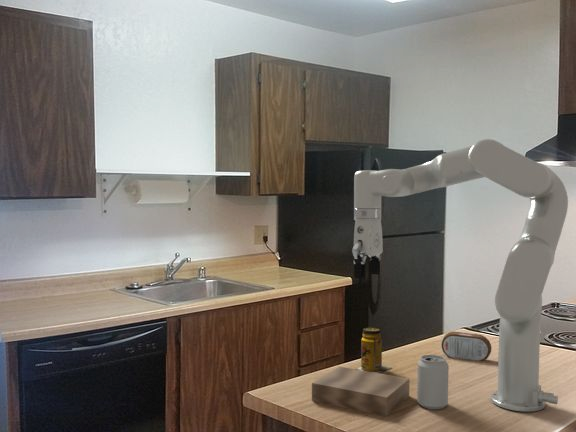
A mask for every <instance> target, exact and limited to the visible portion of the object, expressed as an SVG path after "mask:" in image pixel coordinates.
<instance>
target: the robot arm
mask: <svg viewBox="0 0 576 432" xmlns="http://www.w3.org/2000/svg"><path fill="white" fill-rule="evenodd" d="M482 178H486V179H488V180H490V181H492V182H494V183H496V184H498V185H499V186H501V187H503V188H505V189H507V190H508V191H510V192H513V193H515V194H517V195H519V196H522V197H524V198H527V199H529V208H528V212H527V215H526V217H525V221H524V226H523V228H522V230H521V231H522V232H521V234H520V236H519V239H518V241H516V242H515V244H514V245H513V246H512V247H511V248H510V251H509V253H508V255H507V258H506V261H505V264H504V268H503V271H502V274H501V277H500V280H499V283H498V285H497V290H496V293H495V295H494V296H495V297H494V305H495V309H496V311H497V313H498V315H499V330H498V362H497V363H498V365H497V391H494V392H493V393H492V394H491V395H490V400H491V402H492V403H493V404H495V405H496V406H497V407H500V408H503V409H505V410H510V411H514V412H515V411H516V412H523V413H524V412H526V413H529V412H531V413H532V412H538V411H541V410H543V409H544V408H545V407H546V403H549V404H554V405H558V400H559V397H558V395H554V393H553V392H546V391H544V390H542V385H539V384H540V383H539V379H540V352H541V351H540V346H541V345H540V344H541V326H542V325H541V324H542V323H541V321H542V309H543V292H544V288H545V286H546V283H547V279H548V277H549V274H550V271H551V268H552V266H553V264H554V262H555V256H556V251H557V247H558V244H559V241H560V238H561V235H562V232H563V231H562V230H563V228H564V223H565V221H566V217H567V213H568V209H569V208H568V207H569V198H568V193H567V190H566V189H567V188H566V187H565V185H564V183H563V181H562V180H561V178H560V177H559V176H558V174H556V173H555V172H554V171H553V170H552V169H551V168H550V167H548V166H547V165H545V164H543V163H540V162H538V161H535V160H533V159H532V158H530V157H527V156H525V155H523V154H521V153H520V152H517V151H514V150H513V149H511V148H509V147H508V146H505V145H504V144H503V143H501V142H500V141H497V140H495V139H491V138H488V139H487V138H485V139H481V140H478V141H477V142H475V143H474V144H473V145H469V146H467V147H464V148H460V149H456V150H452V151H448V152H444V153H441V154H438V155H437V156H435V158H433V159H432V160H431V161H427V162H424V163H422V164H419V165H415V166H412V167H407V168H403V169H396V168H388V169H387V168H386V169H382V170H381V169H380V170H375V169H374V170H371V169H370V170H369V169H367V170H366V169H364V170H358V171H356V172H355V173H354V177H353V220H354V221H355V222H354V230H353V231H354V233H353V247H352V250H351V253H352V259H353V268H354V269H353V273H354V274H353V275H354V276H353V278H354V279H359V280H361V279H362V280H364V279H367V278H366V277H367V276H366V275H367V273H366V272H367V264H366V259H367V256H368V257H369V259H368V274H369V275H370V274H371V275H380V274H381V254H382V253H383V252H384V249H383V247H384V245H383V244H384V243H383V227H382V197H387V198H388V197H389V198H397V197H398V198H399V197H406V196H407V197H408V196H411V195H415V194H420V193H423V192H427V191H432V190H434V189H441V188H446V187H449V186H454V185H457V184H462V183H464V182H469V181H473V180H474V181H475V180H478V179H482Z"/></svg>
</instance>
